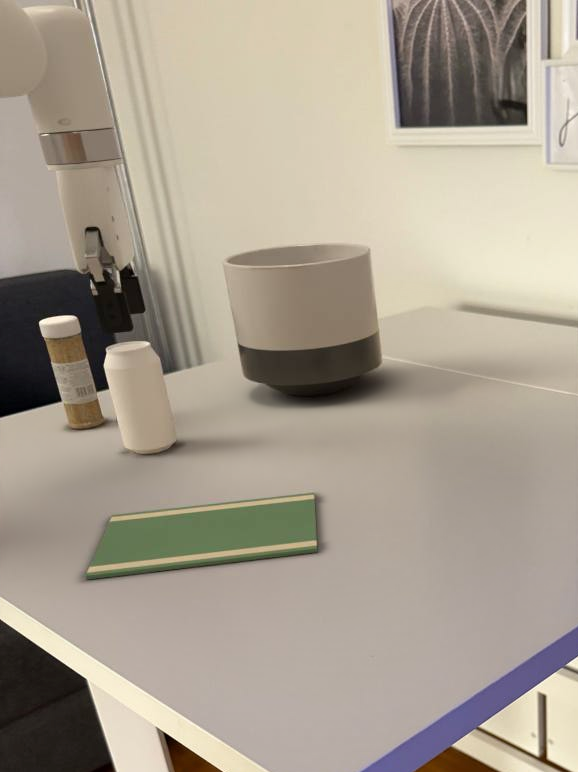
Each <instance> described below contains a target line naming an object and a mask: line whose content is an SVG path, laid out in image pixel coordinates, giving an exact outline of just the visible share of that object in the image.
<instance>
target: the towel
mask: <svg viewBox="0 0 578 772" xmlns="http://www.w3.org/2000/svg"><path fill="white" fill-rule="evenodd" d="M315 496H316V495H315V492H308V493H307V492H306V493H298V494H290V495H289V494H288V495H282V496H281V495H280V496H279V495H278V496H272V497H271V496H270V497H261V498H253V499H245V500H244V499H243V500H237V501H235V500H234V501H228V502H227V501H226V502H217V503H208V504H199V505H191V506H183V507H171V508H164V509H163V508H162V509H155V510H145V511H137V512H130V513H129V512H128V513H119V514H112V515H111V516H110V519H109V522H108V524H107V527H106V528H105V531H104V533H103V536H102V538H101V539H100V542H99V545H98V547H97V549H96V552H95V554H94V556H93V558H92V561H91V562H90V566H89V567H88V569H87V571H86V573H85V578H86V580H96V579H105V578H112V577H121V576H130V575H137V574H146V573H156V572H162V571H163V572H164V571H170V570H171V571H172V570H180V569H188V568H189V569H190V568H197V567H204V566H212V565H213V566H214V565H221V564H230V563H237V562H238V563H239V562H248V561H254V560H262V559H272V558H280V557H281V558H282V557H288V556H297V555H305V554H312V553H313V554H314V553H318V550H319V549H318V534H317V515H316V513H317V512H316V497H315Z"/></svg>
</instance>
